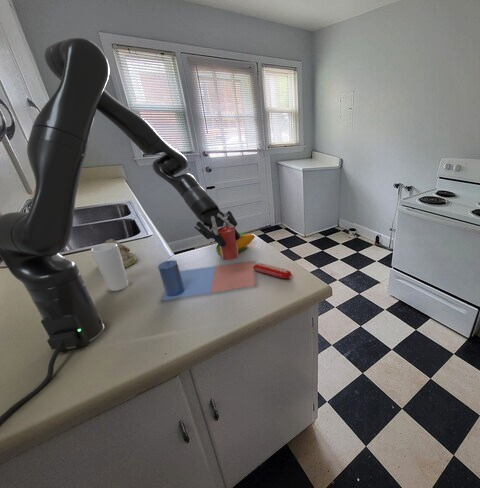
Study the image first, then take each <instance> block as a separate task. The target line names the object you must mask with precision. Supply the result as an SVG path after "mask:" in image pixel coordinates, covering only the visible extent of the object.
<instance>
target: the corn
mask: <svg viewBox="0 0 480 488" xmlns="http://www.w3.org/2000/svg"><path fill="white" fill-rule="evenodd" d="M238 233H239V232H238ZM239 234H240V238H239V240H237V241H236V242H237V248H238V253H240V252H242V251H244V250H245V249H247V248H248V246H249V245H250V244H251V243H252V241H253V240H254V239H255V238H256V237H255V236H254V235H255V234H252V233H246V232H240V233H239ZM215 250H216V251H215V252H216V253H217V255H218V256H221V257H222V254H221V249H220V245H219V244H218V243H217V245H216V247H215Z"/></svg>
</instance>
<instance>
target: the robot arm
mask: <svg viewBox="0 0 480 488" xmlns="http://www.w3.org/2000/svg"><path fill="white" fill-rule="evenodd" d="M43 56H44V61H45V63H46V65H47V67H48V68H49V70H50V71H51V72H52V74H53V75H54V76H55V77H56V78H57V79H58V80H60V82H59V85H58V87H57V88H56V90H55V92H54V93H53V94H52V96H51V97H50V98H49V99H48V101H47V102H46V103H45V104H44V106H43V107H42V108H41V110H40V111H39V113H37V115H36V117H35V119H34V121H33V124H32V126H31V130H30V133H29V137H28V140H27V144H26V145H27V146H26V154H27V159H28V162H29V165H30V168H31V170H32V173H33V176H34V180H35V189H34V195H33V198H32V203H31V206H30V208H29V211H11V212H8V213H4V214H2V215H0V258H1V260H2V261H3V263H4V264H5V266H6V267H7V269H8V271H9V272H10V274H11V275H12V276H13V277H14V278H15V279H17V281H19V282H21V283H22V284H23V286H24V287H25V289H26V291H27V292H28V295H29V296H30V298H31V300H32V302H33V304H34V305H35V307H36V308H37V311H38V312H39V315H40V317H41V318H42V319H41V321H40V323H41V325H42V326H43V329H44V330H45V332H46V334H47V335H48V339H47V340H46V342H47V344H48V345H49V347H50V349H51V350H52V351H54V352H53V354H52V356H51V358H50V360H49V363H48V365H47V374H46V376H45V378H44V380H43V381H42V382H41V383H40V384H39V385H38V386H37V387H36V388H35V389H33V391H31V392H30V393H28V394H27V395H26V396H24V397H23V398H21V399H20V400H19V401H17V402H16V403H14V404H13V405H12V406H11V407H10V408H8V409H7V410H6V411H5V412H4V413H3V414H2V415H1V416H0V424H1V423H3V422H4V421H5V420H6V419H7V418H8V417H9V416H10V415H11V414H13V412H15V411H16V410H17V409H18V408H20V407H21V406H22V405H24V404H25V403H27V402H28V401H29V400H30V399H32V398H33V397H34V396H36V395H37V394H38V393H39V392H40V391H42V390H43V389H44V388H45V387H46V386H47V384H48V383H49V382H50V380H51V379H52V377H53V375H54V367H55V362H56V360H57V358H58V356H59V353H62V352H67V351H71V350H75V349H81V348H85V347H88V346H89V345H90V344H91V343H92V342H94V341H96V340H97V339H99V337H101V336H102V335H103V334H104V332H105V330H106V327H105V324H104V323H103V320H102V317H101V315H100V314H99V312H98V310H97V308H96V305H95V304H94V301H93V299H92V297H91V294H90V292H89V290H88V287H87V286H86V284H85V281H84V279H83V276H82V275H81V272H80V270H79V267H78V266H77V264H76V263H75V262H74V261H73V260H71V259H69V258H67V257H65V256H63V255H62V254H61V252H63V251H64V250H65V249H67V246H68V245H69V243H70V242H71V241H70V240H71V237H72V233H73V227H74V226H73V225H74V215H75V208H76V207H75V206H76V199H77V198H76V197H77V193H78V188H79V184H80V179H81V174H82V170H83V166H84V163H85V159H86V156H87V151H88V147H89V143H90V137H91V133H92V128H93V126H94V121H95V116H96V113H97V111H98V112H99V113H100V114H102V115H103V116H104V117H105V118H107V119H108V120H109V121H110V122H111V123H112V124H113V125H115V126H116V127H117V128H118V129H119V130H120V131H121V132H122V133H124V135H125V136H127V138H128V139H129V140H130V141H131V142H132V143H133V144H134V145H135V146H136V147H137V148H138V149H139V150H140V151H141V152H142V153H143V154H145V155H147V156H155V155H158V154H163V155H161V156H159V157H157V158H156V159H155V160H154V161H153V162H152V165H151V166H152V171H154V173H155V174H157V176H159V178H161V179H163V180H164V181H166V182H167V183H168V184H170V185H171V186H172V187H173V188H174V189H175V190H176V192H178V194H179V196H181V198H182V199H183V201H184V202H185V204H186V205H187V206H188V208H189V209H190V211H191V212H192V213H193V215H194V216H195V217H196V218H197V219H198V220H199V221H197V222H196V223H195V225H194V229H195V230H196V231H197V232H199V233H200V234H201V235H202V236H203V237H204V238H205V239H207V240H210V239H213V240H214V241H215V242H216V243H217V245H218V244H219V245H220V246H222V247H224V246H225V245H226V242H225V241H224V239H223V238H222V237H221V236H220V235H218V231H217V230H218V229H219V228H222V227H225V226H226V227H233V228H234V230H235V236H236V241H237V240H239V238H240V234H239V232H238V230H237V229H236V227H237V226H238V222H237V220H236V219H235V217H234V215H233V213H232V212H231V211H230V210H228V211H226V212H223V211H222V210H220V208H219V206H218V204H217V203H216V201H215V200H214V199H213V198H212V197H211V195H210V194H209V193H208V192H207V191H206V190H205V189H204V188H203V186H202V185H201V184H200V183H199V182H198V180H197V179H196V178H195V176H193V175H192V174H191V173H183V174H180V173H182V172H183V171H185V170H186V169H187V168H188V166H189V162H188V159H187V157H186V156H185V155H184V154H182V153H181V152H180V151H178V150H177V149H176V148H174V147H173V146H172V145H170V144H169V143H168V142H167V141H165V140H164V139H163V138H162V137H161V136H160V134H158V132H157V131H156V130H155V129H154V128H153V126H152V125H151V124H150V123H149V122H148V121H147V120H146V119H144V118H143V117H142V116H140V115H139V114H138V113H136V112H135V111H134V110H132V109H130V108H129V107H127V106H126V105H125V104H124V103H122V102H121V101H119V100H118V99H116V98H115V97H113V95H111V94H110V93H109V92H108V91H107V90H106V89H105V88H106V85H107V83H108V81H109V77H110V64H109V60H108V58H107V55H106V54H105V53H104V51H103V50H102V49H101V47H100V46H99V45H98V44H96V43H94V42H93V41H91V40H90V39H87V38H83V37H71V38H70V37H69V38H67V39H66V38H65V39H63V40H61V41H58V42H55V43H52V44H50V45H48V46H47V47H46V48H45V49H44V55H43ZM179 174H180V175H179Z"/></svg>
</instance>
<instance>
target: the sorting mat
mask: <svg viewBox="0 0 480 488" xmlns="http://www.w3.org/2000/svg"><path fill="white" fill-rule="evenodd" d="M254 266H255V264H254V261H245V262H239V263H232V264H231V263H230V264H224V265H216V266H209V267H204V268H196V269H195V268H194V269H188V270H180V273H181V277H182V281H183V284H184V288H185V290H184V292H183V293H181V294H179V295H177V296H167V295H166V292H165V293H164V296H162V297H163V298H162V301H168V300H173V299H180V298H186V297H193V296H199V295H205V294H211V293H219V292H224V291H225V292H226V291H230V290H238V289H243V288H250V287H254V286H256V278H255V270H254V268H253V267H254Z"/></svg>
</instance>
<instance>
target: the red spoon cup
mask: <svg viewBox="0 0 480 488" xmlns="http://www.w3.org/2000/svg"><path fill="white" fill-rule="evenodd" d="M217 231H218V235H220V236H221V237H222V238H223V239H224V241H225V242H226V245H225V246H224V247H222V246H220V249H221V254H222V256H221V259H222V260H225V261H233V260H235V259H237V258H238V257H239V256H240V255H239V252H238V248H237V242H236V236H235V230H234V228H233V227H229V226H228V227H226V226H225V227H218V228H217Z"/></svg>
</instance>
